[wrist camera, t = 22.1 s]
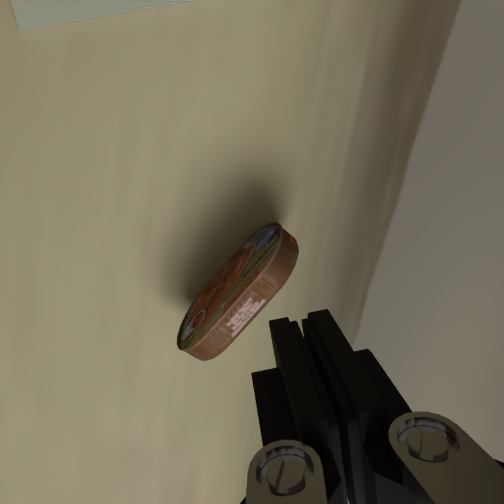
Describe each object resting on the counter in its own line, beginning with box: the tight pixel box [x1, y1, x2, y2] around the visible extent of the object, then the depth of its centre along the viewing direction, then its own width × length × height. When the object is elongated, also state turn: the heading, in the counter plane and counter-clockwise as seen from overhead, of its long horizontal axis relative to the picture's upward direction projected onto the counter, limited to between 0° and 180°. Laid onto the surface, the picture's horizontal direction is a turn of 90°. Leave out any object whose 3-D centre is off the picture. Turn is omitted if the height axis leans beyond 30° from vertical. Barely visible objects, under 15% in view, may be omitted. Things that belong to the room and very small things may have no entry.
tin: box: [177, 222, 299, 361], centre depth 38 cm, size 15×3×8 cm, turn 139°
